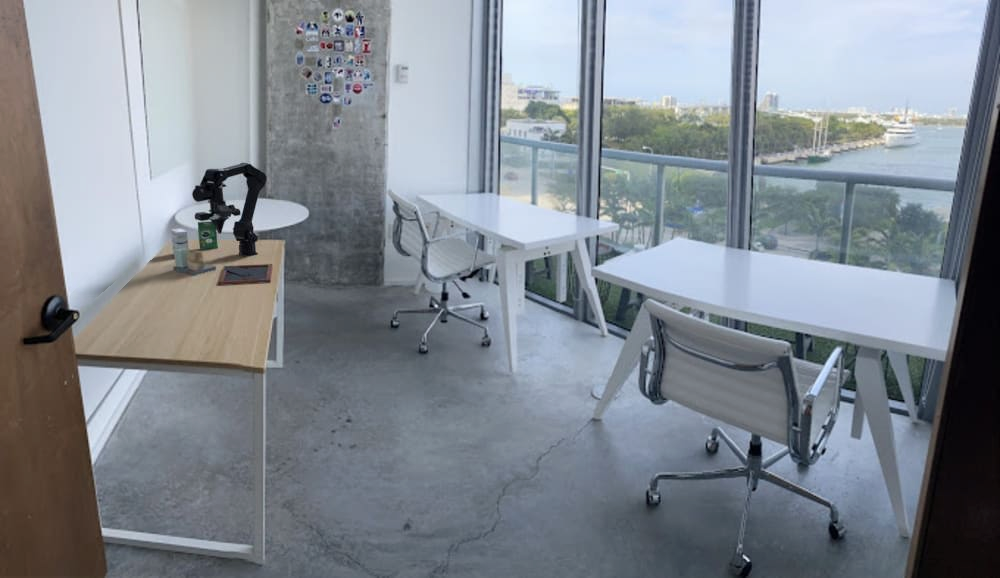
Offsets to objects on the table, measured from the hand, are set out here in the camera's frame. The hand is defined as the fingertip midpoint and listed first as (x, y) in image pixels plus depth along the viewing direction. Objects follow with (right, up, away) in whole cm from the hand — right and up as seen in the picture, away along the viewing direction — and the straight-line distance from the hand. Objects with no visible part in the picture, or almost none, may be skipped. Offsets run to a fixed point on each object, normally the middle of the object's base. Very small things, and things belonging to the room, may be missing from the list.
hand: (219, 233), depth 325 cm
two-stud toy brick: (-12, -15, -10) cm, 21 cm away
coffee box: (-15, -5, +27) cm, 31 cm away
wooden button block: (-5, -16, -14) cm, 22 cm away
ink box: (-23, -9, +14) cm, 28 cm away
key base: (-7, -16, -9) cm, 20 cm away
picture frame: (+17, -20, -16) cm, 30 cm away
